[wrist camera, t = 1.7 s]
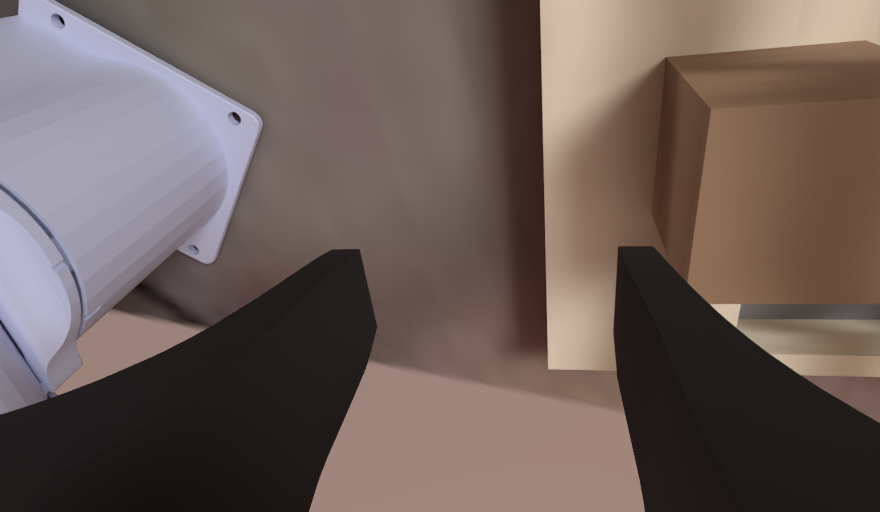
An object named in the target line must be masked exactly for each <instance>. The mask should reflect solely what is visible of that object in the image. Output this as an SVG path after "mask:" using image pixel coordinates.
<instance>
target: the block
mask: <svg viewBox="0 0 880 512" xmlns="http://www.w3.org/2000/svg"><path fill="white" fill-rule="evenodd" d="M652 216H653V219H654V222H655V224H656V227H657V230H658V233H659V235H660V238H661V241H662V244H663V247H664V249H665V252H666V255H667V258H668V260H669V263H670V265H671V266H672V267H673V268H674V269H675V270H676V271H677V272H678V273H679V274H680V275H681V276H682V277H683V278H684V280H685V281H686V282H687V283H688V284H689V285H690V286H691V287H692V288H693V289H694V290H695V291H696V292H697V293H698V294H699V295H701V296H702V297H703V298H704V299H705V300H706V301H707V302H708V303H709V304H880V45H877V44H874V43H872V42H869V41H867V40H862V41H850V42H838V43H826V44H815V45H803V46H791V47H779V48H767V49H756V50H744V51H732V52H720V53H708V54H697V55H685V56H673V57H666V61H665V72H664V83H663V94H662V105H661V117H660V128H659V139H658V150H657V161H656V172H655V183H654V194H653V205H652Z"/></svg>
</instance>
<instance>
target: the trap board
mask: <svg viewBox="0 0 880 512" xmlns="http://www.w3.org/2000/svg"><path fill="white" fill-rule="evenodd" d="M540 24H541V68H542V113H543V158H544V202H545V247H546V292H547V336H548V369H566V370H608V371H617V369H616V358H615V347H614V335H613V327H614V309H615V291H616V274H617V256H618V246H653V247H654V248H655V249H656V250H657V251H658V252H659V253H660V254H661V255H662V256H663V257H664V258H665V259H666V260H667V262H668V263H669V260H668V258H667V255H666V252H665V249H664V247H663V244H662V241H661V238H660V235H659V233H658V230H657V227H656V224H655V222H654V219H653V216H652V205H653V194H654V183H655V172H656V161H657V150H658V139H659V128H660V117H661V105H662V94H663V83H664V72H665V61H666V57H673V56H685V55H697V54H708V53H720V52H732V51H744V50H756V49H767V48H779V47H791V46H803V45H815V44H826V43H838V42H850V41H862V40H867V41H869V42H872V43H874V44H877V45H880V0H540ZM669 264H670V263H669ZM710 305H711V306H712V307H713V308H714V309H715V310H716V311H717V312H718V313H720V314H721V315H722V316H723V317H724V318H725V319H726V320H728V321H729V322H730V323H731V324H733V325H734V326H735V327H736V328H737V329H739V330H740V331H741V332H742V333H743V334H745V335H746V336H747V337H748V338H749V339H751V340H752V341H753V342H755V343H756V344H757V345H759V346H760V347H761V348H762V349H764V350H765V351H766V352H768V353H769V354H771V355H772V356H773V357H775V358H776V359H778V360H779V361H781V362H782V363H784V364H785V365H786V366H788V367H789V368H791V369H792V370H794V371H795V372H796V373H798V374H799V375H817V376H859V377H880V304H710Z"/></svg>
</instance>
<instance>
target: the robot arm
mask: <svg viewBox="0 0 880 512" xmlns="http://www.w3.org/2000/svg"><path fill="white" fill-rule="evenodd" d="M59 15H60V16H61V17H62V18H63V20H64V22H65V26H64V25H63V24H62V23H61V21H60V19H59ZM233 112H235V113H237V114H238V115H239V116H240V118H241V122H238V121H236V120H235V119H234V117H233ZM262 127H263V123H262V120H261V118H260V117H259V115H258V114H257V113H255V112H254V111H252V110H250V109H249V108H247V107H245V106H243V105H241V104H240V103H238V102H236V101H234V100H233V99H231V98H229V97H227V96H225V95H224V94H222V93H220V92H218V91H216V90H215V89H213V88H211V87H209V86H207V85H206V84H204V83H202V82H200V81H198V80H197V79H195V78H193V77H191V76H189V75H188V74H186V73H184V72H182V71H180V70H179V69H177V68H175V67H173V66H171V65H170V64H168V63H166V62H164V61H162V60H161V59H159V58H157V57H155V56H153V55H152V54H150V53H148V52H146V51H145V50H143V49H141V48H139V47H137V46H136V45H134V44H132V43H130V42H128V41H127V40H125V39H123V38H121V37H119V36H118V35H116V34H114V33H112V32H110V31H109V30H107V29H105V28H103V27H101V26H100V25H98V24H96V23H94V22H92V21H91V20H89V19H87V18H85V17H83V16H82V15H80V14H78V13H76V12H74V11H73V10H71V9H69V8H67V7H65V6H64V5H62V4H60V3H58V2H57V1H55V0H19V9H18V15H16V16H11V17H5V18H0V512H309V509H310V506H311V503H312V500H313V496H314V493H315V490H316V487H317V483H318V481H319V477H320V475H321V472H322V470H323V467H324V465H325V462H326V459H327V457H328V455H329V452H330V450H331V448H332V446H333V443H334V441H335V439H336V436H337V434H338V432H339V430H340V427H341V425H342V422H343V420H344V418H345V416H346V414H347V411H348V409H349V406H350V404H351V402H352V400H353V397H354V395H355V393H356V390H357V388H358V386H359V383H360V381H361V379H362V376H363V374H364V371H365V369H366V366H367V363H368V359H369V356H370V352H371V349H372V345H373V341H374V337H375V333H376V329H377V324H376V320H375V316H374V311H373V307H372V302H371V298H370V293H369V289H368V285H367V280H366V276H365V271H364V267H363V262H362V258H361V254H360V249H341V250H331V251H329V252H327V253H325V254H323V255H322V256H320V257H318V258H317V259H315V260H314V261H312V262H310V263H309V264H307V265H306V266H304V267H303V268H301V269H300V270H298V271H297V272H295V273H294V274H292V275H291V276H290V277H288V278H287V279H285V280H284V281H282V282H281V283H279V284H278V285H276V286H275V287H273V288H272V289H270V290H269V291H267V292H266V293H264V294H263V295H261V296H260V297H258V298H257V299H255V300H253V301H252V302H250V303H249V304H247V305H245V306H244V307H242V308H240V309H239V310H237V311H236V312H234V313H232V314H231V315H229V316H228V317H226V318H224V319H223V320H221V321H219V322H218V323H216V324H214V325H213V326H211V327H209V328H207V329H206V330H204V331H202V332H200V333H198V334H197V335H195V336H193V337H191V338H189V339H187V340H185V341H184V342H182V343H179V344H177V345H175V346H174V347H172V348H170V349H168V350H166V351H164V352H162V353H160V354H157V355H155V356H153V357H151V358H149V359H146V360H144V361H142V362H139V363H137V364H135V365H133V366H130V367H128V368H126V369H123V370H121V371H119V372H117V373H114V374H112V375H110V376H107V377H105V378H103V379H100V380H98V381H95V382H93V383H90V384H87V385H85V386H82V387H80V388H77V389H74V390H72V391H69V392H66V393H64V394H61V395H58V396H57V394H55V392H54V391H55V390H56V389H57V388H58V387H60V386H61V385H62V384H63V382H65V381H66V380H67V379H68V378H69V377H70V376H71V375H72V374H73V373H74V372H75V371H76V370H77V369H78V368H79V367H80V366H81V365H82V364H83V363H82V360H81V358H80V356H79V354H78V351H77V347H76V340H77V339H78V338H79V337H80V336H82V335H83V334H84V333H85V332H86V331H87V330H88V329H89V328H90V327H91V326H93V325H94V324H95V323H96V322H97V321H98V320H99V319H100V318H101V317H103V315H105V314H106V313H107V312H108V311H109V310H110V309H111V308H113V307H114V306H115V305H116V304H117V303H118V302H119V301H120V300H121V299H122V298H124V297H125V296H126V295H127V294H128V293H129V292H130V291H131V290H132V289H134V288H135V287H136V286H137V285H138V284H139V283H140V282H141V281H142V280H143V279H145V278H146V277H147V276H148V275H149V274H150V273H151V272H152V271H153V270H155V269H156V268H157V267H158V266H159V265H160V264H161V263H162V262H163V261H165V260H166V259H167V258H168V257H169V256H170V255H171V254H172V253H173V252H174V251H176V250H179V251H181V252H182V253H184V254H186V255H188V256H190V257H192V258H194V259H196V260H198V261H200V262H202V263H205V264H210V263H212V262H213V261H214V260H215V259H216V258H217V257H218V254H219V251H220V248H221V245H222V243H223V240H224V237H225V234H226V231H227V228H228V225H229V223H230V220H231V217H232V214H233V211H234V208H235V205H236V203H237V200H238V197H239V194H240V191H241V188H242V185H243V183H244V180H245V177H246V174H247V171H248V168H249V165H250V163H251V160H252V157H253V154H254V151H255V148H256V145H257V142H258V140H259V137H260V134H261V131H262ZM193 245H195V246H196V247H197V248H198V250H197V249H195V248H194V247H193ZM613 335H614V347H615V358H616V369H617V378H618V383H619V388H620V392H621V397H622V401H623V406H624V411H625V415H626V420H627V424H628V429H629V433H630V438H631V442H632V447H633V452H634V456H635V461H636V465H637V470H638V474H639V478H640V484H641V490H642V495H643V500H644V506H645V512H880V423H879V422H877V421H875V420H873V419H871V418H870V417H868V416H866V415H865V414H863V413H861V412H859V411H858V410H856V409H854V408H853V407H851V406H849V405H848V404H846V403H844V402H843V401H841V400H839V399H837V398H836V397H834V396H832V395H831V394H829V393H827V392H826V391H824V390H822V389H821V388H819V387H818V386H816V385H815V384H813V383H811V382H810V381H808V380H807V379H805V378H804V377H802V376H801V375H799V374H798V373H796V372H795V371H794V370H792V369H791V368H789V367H788V366H786V365H785V364H784V363H782V362H781V361H779V360H778V359H776V358H775V357H773V356H772V355H771V354H769V353H768V352H766V351H765V350H764V349H762V348H761V347H760V346H759V345H757V344H756V343H755V342H753V341H752V340H751V339H749V338H748V337H747V336H746V335H745V334H743V333H742V332H741V331H740V330H739V329H737V328H736V327H735V326H734V325H733V324H731V323H730V322H729V321H728V320H726V319H725V318H724V317H723V316H722V315H721V314H720V313H718V312H717V311H716V310H715V309H714V308H713V307H712V306H711V305H710V304H709V303H708V302H707V301H706V300H705V299H704V298H703V297H702V296H701V295H699V294H698V293H697V292H696V291H695V290H694V289H693V288H692V287H691V286H690V285H689V284H688V283H687V282H686V281H685V280H684V278H683V277H682V276H681V275H680V274H679V273H678V272H677V271H676V270H675V269H674V268H673V267H672V266H671V265H670V264H669V263H668V262H667V260H666V259H665V258H664V257H663V256H662V255H661V254H660V253H659V252H658V251H657V250H656V249H655V248H654V247H653V246H618V256H617V274H616V291H615V309H614V327H613Z"/></svg>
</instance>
